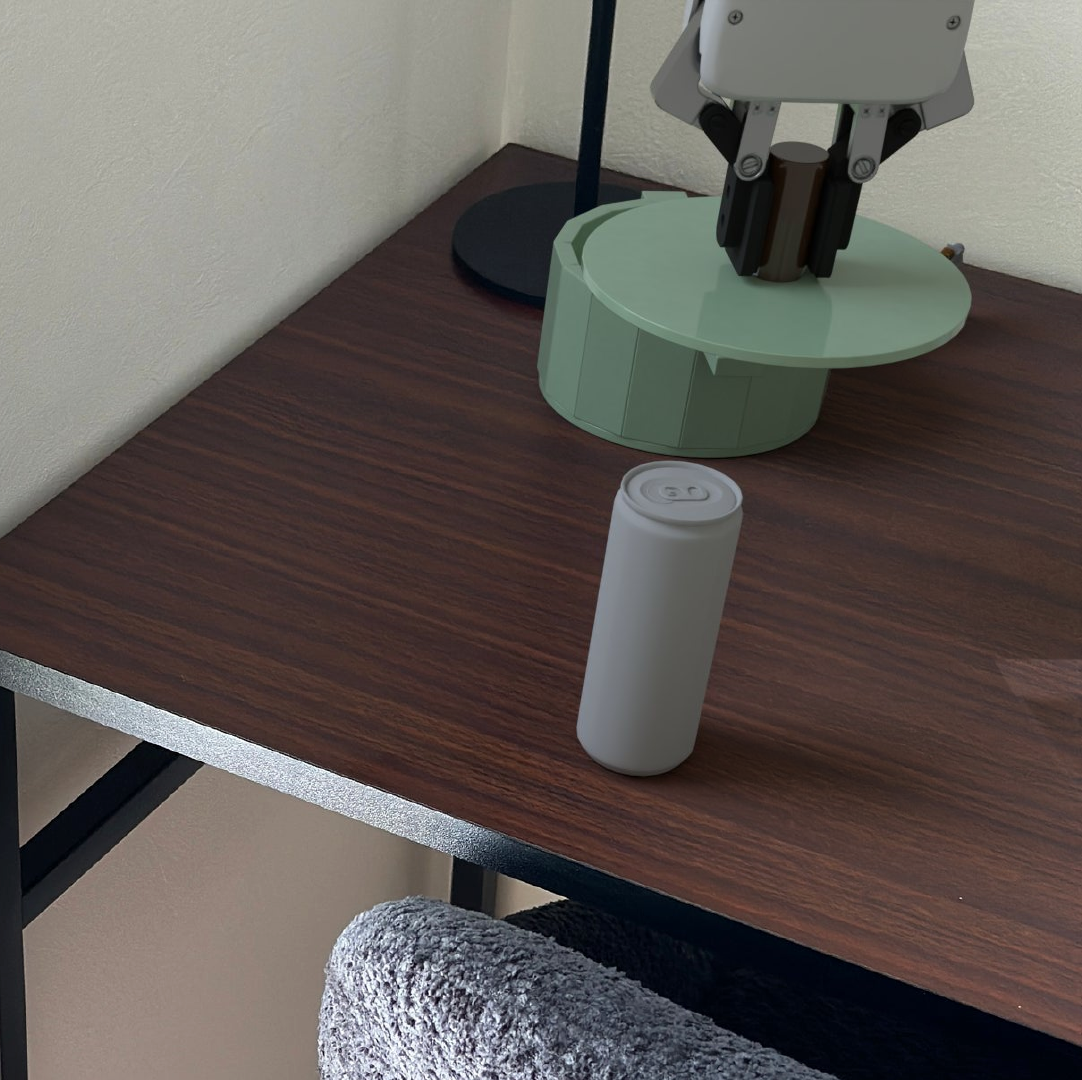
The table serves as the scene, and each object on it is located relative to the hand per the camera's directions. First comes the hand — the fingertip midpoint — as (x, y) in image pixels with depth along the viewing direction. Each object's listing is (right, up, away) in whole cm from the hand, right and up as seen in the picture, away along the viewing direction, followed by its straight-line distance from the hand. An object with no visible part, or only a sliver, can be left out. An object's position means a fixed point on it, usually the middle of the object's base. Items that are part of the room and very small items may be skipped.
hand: (776, 260), depth 87 cm
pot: (+1, 0, +25) cm, 25 cm away
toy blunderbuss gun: (+15, +4, +30) cm, 34 cm away
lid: (0, -1, +1) cm, 1 cm away
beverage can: (-6, -20, 0) cm, 21 cm away
